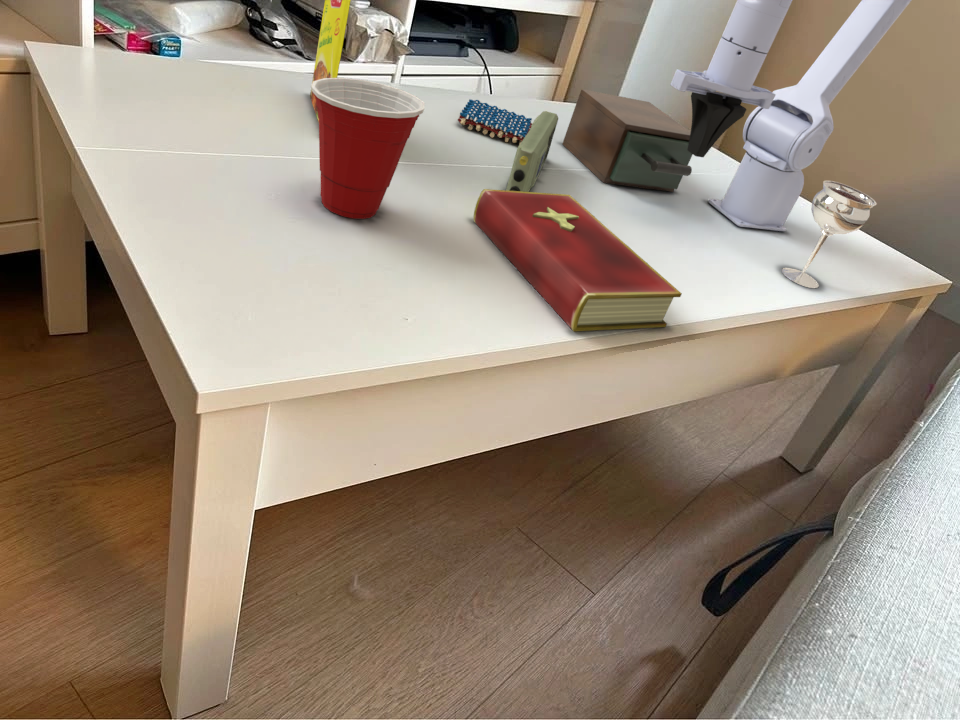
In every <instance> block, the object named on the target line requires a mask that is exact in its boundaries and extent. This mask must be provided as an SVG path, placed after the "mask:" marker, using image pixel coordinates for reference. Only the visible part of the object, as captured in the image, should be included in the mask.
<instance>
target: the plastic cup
mask: <svg viewBox="0 0 960 720" xmlns="http://www.w3.org/2000/svg"><path fill="white" fill-rule="evenodd" d="M312 81H313V80H312ZM311 90H312V92H313V93H314V95H315V99H316V107H317V108H318V118H319V122H318V138H319V139H318V147H319V149H318V151H319V152H318V153H319V155H318V157H319V172H320V198H321V203H322V205H323V207H324V208H325V209H327V210H328V211H329V212H331V213H334V214H336V215H338V216H341V217H344V218H348V219H353V220H365V219H371V218H372V217H374V216H375V215H376V214H377V213H378V210H379V209H380V207H381V204H382V202H383V201H384V197H385V194H386V192H387V190H388V188H389V187H390V185H391V182H392V180H393V177H394V175H395V172H396V170H397V168H398V165H399V162H400V159H401V157H402V155H403V153H404V150H405V147H406V145H407V142H408V139H410V136H411V134H412V131H413V129H414V128H415V125H416V122H417V121H418V120H419V117H420V115H421V114H423V113H424V111H425V106H426V105H425V104H426V103H425V102H424V101H423V100H422V99H420V98H419V97H418V96H417V95H414V94H412V93H409V92H408V91H405V90H403V89H400V88H396V87H393V86H391V85H387V84H384V83H380V82H379V83H378V82H375V81H370V80H364V79H356V78H348V77H347V78H346V77H337V78H323V79H320V80H316V81H313V83H312V82H311V85H310V91H311Z"/></svg>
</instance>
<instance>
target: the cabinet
mask: <svg viewBox="0 0 960 720" xmlns="http://www.w3.org/2000/svg"><path fill="white" fill-rule="evenodd" d="M628 130H629V131H635V132H641V133H647V134H652V135H658V136H664V137H670V138H676V139H682V141H687V142H689V139H690V133H691V130H689V129H688V128H687V127H685V126H683V125H682V124H681V123H679V122H678V121H677V120H675V119H674V118H672V117H671V116H669V115H668V114H667V113H665V112H664V111H663V110H661V109H660V108H658V107H657V106H656V105H654V104H652V102H650V101H645V100H642V99H641V100H640V99H637V98H630V97H625V96H619V95H615V94H610V93H604V92H599V91H595V90H589V89H585V88H581V89H580V92H579V95H578V98H577V100H576V103H575V106H574V109H573V112H572V114H571V118H570V121H569V123H568V126H567V129H566V132H565V134H564V137H563V140H562V143H561V144H562V145H563V146H564V147H565V148H566V149H567V151H569V152H570V153H571V154H572V155H573V156H574V157H575V158H576V159H578V160H579V162H580V163H582V164H583V165H584V166H585V167H586V168H587V169H588V170H589V171H590V172H591V173H592V174H593V175H595V177H597V178H598V179H599V180H600V181H601V183H603V184H609V185H618V186H624V187H625V186H626V187H632V188H640V189H641V188H642V189H649V190H656V191H664V192H672V193H673V192H674V191H675V189H670V188H662V187H655V186H647V185H640V184H632V183H624V182H617V181H613V180H612V179H611V178H610V175H611V172H612V170H613V167H614V165H615V162H616V160H617V157H618V155H619V152H620V150H621V147H622V144H623V142H624V139H625V137H626V134H627V132H628Z"/></svg>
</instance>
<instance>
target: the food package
mask: <svg viewBox="0 0 960 720" xmlns="http://www.w3.org/2000/svg"><path fill="white" fill-rule="evenodd" d="M351 1H352V0H324V3H323V11H322V17H321V23H320V29H319V35H318V43H317V49H316V56H315V62H314V68H313V73H312V74H313V75H312V82H311V84H312V83H313V81H316V80H320V79H323V78H338V76H339V70H340V64H341V58H342V52H343V47H344V40H345V35H346V31H347V29H346V28H347V24H348V18H349V13H350V7H351ZM309 98H310V101H311V104H312V108H313V110H314V113H315V116H316V119H317V122H318V123H319V118H318V108H317V107H316V99H315V95H314V93H313V92H312V90H311V89H310V92H309Z"/></svg>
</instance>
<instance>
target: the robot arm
mask: <svg viewBox="0 0 960 720" xmlns="http://www.w3.org/2000/svg"><path fill="white" fill-rule="evenodd" d="M792 2H793V0H736V2H735V4H734V7H733V9H732V11H731V13H730V15H729V18H728V21H727V23H726V25H725V28H724V30H723V32H722V34H721V37H720V39H719V42H718V43H717V46H716V48H715V51H714V53H713V56H712V58H711V59H710V63H709V65H708V67H707V70H703V71H695V70H694V71H693V70H684V69H678V68H677V69H675V72H674V75H673V77H672V79H671V82H670V86H671V87H672V88H674V89H675V90H677V91H678V92H683V93H685V92H689V93H691V95H690V100H691V110H692V111H691V127H690V132H691V133H690V139H689V144H688V149H687V150H688V151H689V152H690V153H692V154H693V155H692V156H695V157H698V158H704V157H705V156H706V155H707V154H708V152H709V151H710V150H711V149H712V147H713V146H714V145H715V143H716V142H717V141H718V140H719V138H721V136H722V135H723V134H724V133H725V132H726V131H727V130H728V129H730V127H731V126H733V125H734V124H735V123H737V122H738V121H739V120H741V119H742V118H744V116H745V114H746V112H747V108H746V107H744V105H741V104H742V103H743V104H748V105H753V106H757V107H755V108H754V109H753V110H752V111H751V112H750V113H749V114H748V117H746V120H745V122H744V124H743V129H742V139H743V143H744V144H743V147H742V149H743V150H745V153H744V155H743V157H742V159H741V161H740V163H739V165H738V167H737V170H735V173H734V176H733V178H732V180H731V182H730V184H729V186H728V188H727V190H726V192H725V194H724V195H723V197H722V199H717V198H709V199H707V202H708V203H709V204H710V205H711V206H712V207H714V208H715V209H716V210H717V211H718V212H720V213H721V214H722V215H724V216H725V217H726V218H727V219H728V220H730V221H731V222H732V223H734V224H735V225H736V226H738V227H741V228H748V229H749V228H751V229H759V230H767V231H777V232H778V231H779V232H786V230H787V228H786V226H784V225H785V223H786V221H787V219H788V217H789V216H790V214H791V212H792V210H793V209H794V207H795V205H796V203H797V201H798V199H799V198H800V195H801V194H802V191H803V189H804V184H805V175H804V173H803V170H804V169H806V168H808V167H810V166H811V165H812V164H813V163H814V162H815V161H816V160H817V158H818V157H819V156H820V154H821V152H822V150H823V148H824V146H825V144H826V142H827V141H828V139H829V137H830V136H831V134H832V133H833V131H834V129H835V128H834V118H833V116H832V112H831V108H830V105H831V103H832V102H833V101H834V100H835V99H836V97H837V96H838V95H839V93H840V92H841V91H842V90H843V88H844V87H845V86H846V84H847V83H848V82H849V81H850V79H851V78H852V77H853V75H854V74H855V73H856V72H857V70H858V69H859V68H860V67H861V65H862V64H863V63H864V61H865V60H866V59H867V58H868V57H869V55H870V54H871V53H872V52H873V50H874V49H875V47H877V45H878V44H879V43H880V41H881V40H882V38H884V36H885V35H886V34H887V32H888V31H889V30H890V28H891V27H893V25H894V23H895V22H897V20H898V19H899V17H900V16H901V14H902V13H903V12H904V11H905V10H906V8H907V7H908V6H909V5H910V3H911V2H912V0H861V1H860V2H858V4H857V6H856V7H855V9H854V10H853V11H852V12H851V13H850V15H849V16H848V18H846V20H845V21H844V22H843V24H842V25H841V27H840V28H839V29H838V30H837V32H836V33H835V35H833V37H832V38H831V39H830V41H828V43H827V45H826V46H825V48H823V49H822V51H821V53H820V54H819V56H818V57H817V58H816V59H815V61H814V62H813V63H812V64H811V66H810V67H809V68H808V70H806V72H805V74H804V75H802V77H801V79H800V80H799V81H798V83H796V84H794V85H791V86H786V87H782V88H779V89H775V90H773V91H771V90H769V89H767V88H764V87H761V86H756V85H754V84H755V81H756V79H757V77H758V75H759V73H760V71H761V68H762V66H763V64H764V62H765V60H766V58H767V55H768V54H769V51H770V49H771V48H772V45H773V44H774V41H775V39H776V37H777V34H778V33H779V30H780V29H781V26H782V24H783V21H784V20H785V17H786V15H787V13H788V11H789V9H790V7H791V5H792Z"/></svg>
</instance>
